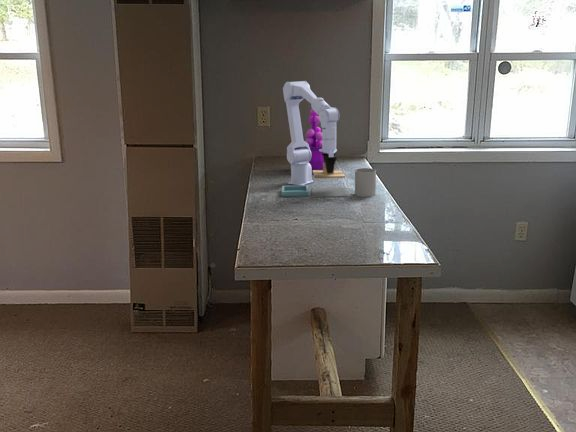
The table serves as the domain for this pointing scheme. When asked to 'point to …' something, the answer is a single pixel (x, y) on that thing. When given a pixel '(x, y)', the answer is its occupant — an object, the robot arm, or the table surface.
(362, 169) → the cup
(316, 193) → the rubber mat
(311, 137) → the decorative plant
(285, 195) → the teal dish
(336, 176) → the oak cover
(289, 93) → the robot arm
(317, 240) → the table surface
